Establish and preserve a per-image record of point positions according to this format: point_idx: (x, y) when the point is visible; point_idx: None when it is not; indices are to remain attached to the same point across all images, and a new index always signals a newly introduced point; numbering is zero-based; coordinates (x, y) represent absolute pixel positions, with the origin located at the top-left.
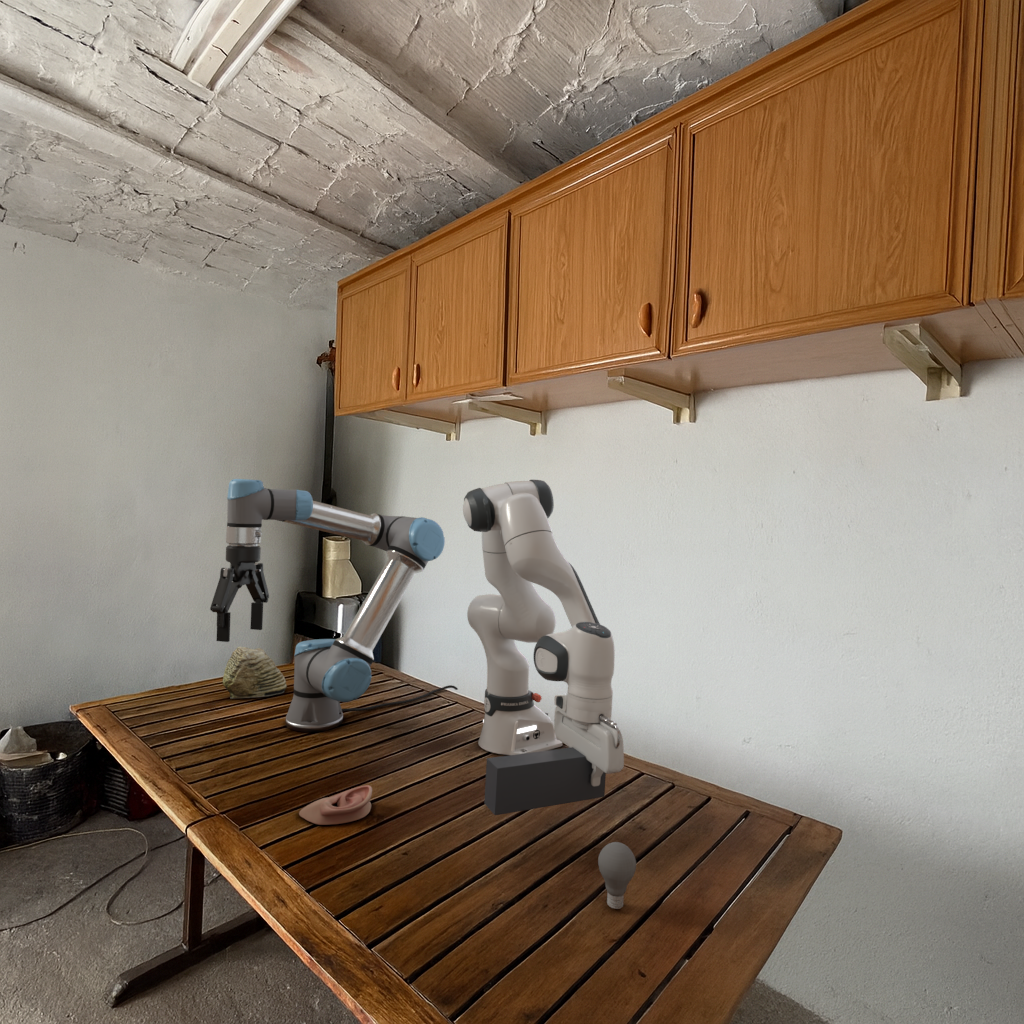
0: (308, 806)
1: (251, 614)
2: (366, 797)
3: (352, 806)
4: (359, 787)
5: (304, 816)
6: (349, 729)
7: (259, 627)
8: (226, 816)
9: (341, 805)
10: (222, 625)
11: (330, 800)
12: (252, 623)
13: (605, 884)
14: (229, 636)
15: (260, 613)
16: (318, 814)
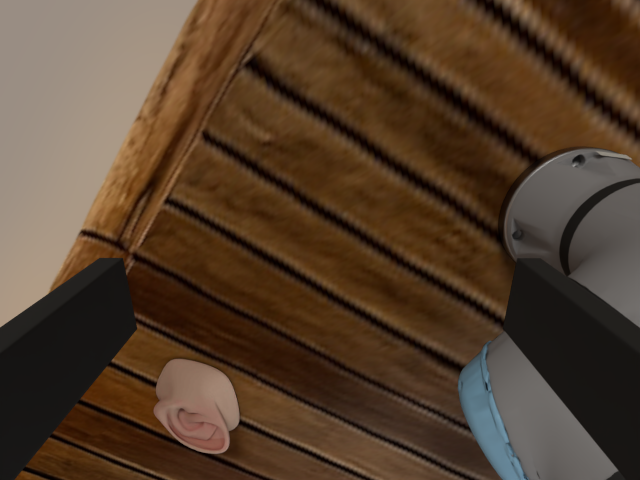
0: (178, 374)
1: (596, 323)
2: (200, 450)
3: (182, 434)
4: (224, 434)
5: (162, 372)
6: None
7: (513, 330)
8: (128, 268)
9: (187, 417)
10: None
11: (184, 407)
12: (537, 294)
13: None
14: (117, 349)
15: (581, 416)
16: (163, 394)
